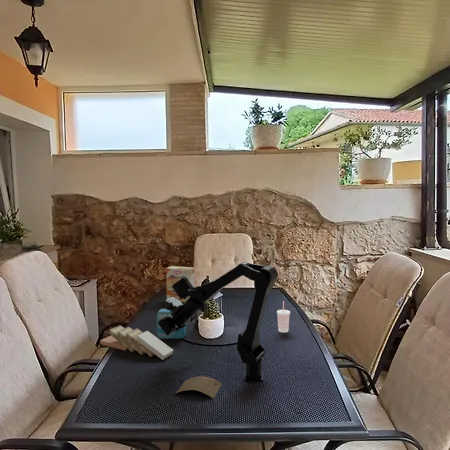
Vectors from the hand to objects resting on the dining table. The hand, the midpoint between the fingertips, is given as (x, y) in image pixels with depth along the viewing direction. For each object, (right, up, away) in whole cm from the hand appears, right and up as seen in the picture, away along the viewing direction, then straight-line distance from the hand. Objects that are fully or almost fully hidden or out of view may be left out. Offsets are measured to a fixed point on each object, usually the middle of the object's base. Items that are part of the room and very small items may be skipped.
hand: (165, 332), depth 152 cm
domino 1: (-12, -8, +7) cm, 16 cm away
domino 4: (+1, -9, 0) cm, 9 cm away
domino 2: (-8, -8, +5) cm, 12 cm away
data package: (-1, -8, +21) cm, 23 cm away
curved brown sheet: (+14, -13, -24) cm, 31 cm away
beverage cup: (+50, -7, +28) cm, 58 cm away
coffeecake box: (-3, -3, +78) cm, 78 cm away
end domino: (-16, -8, +9) cm, 20 cm away
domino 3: (-4, -8, +2) cm, 9 cm away
